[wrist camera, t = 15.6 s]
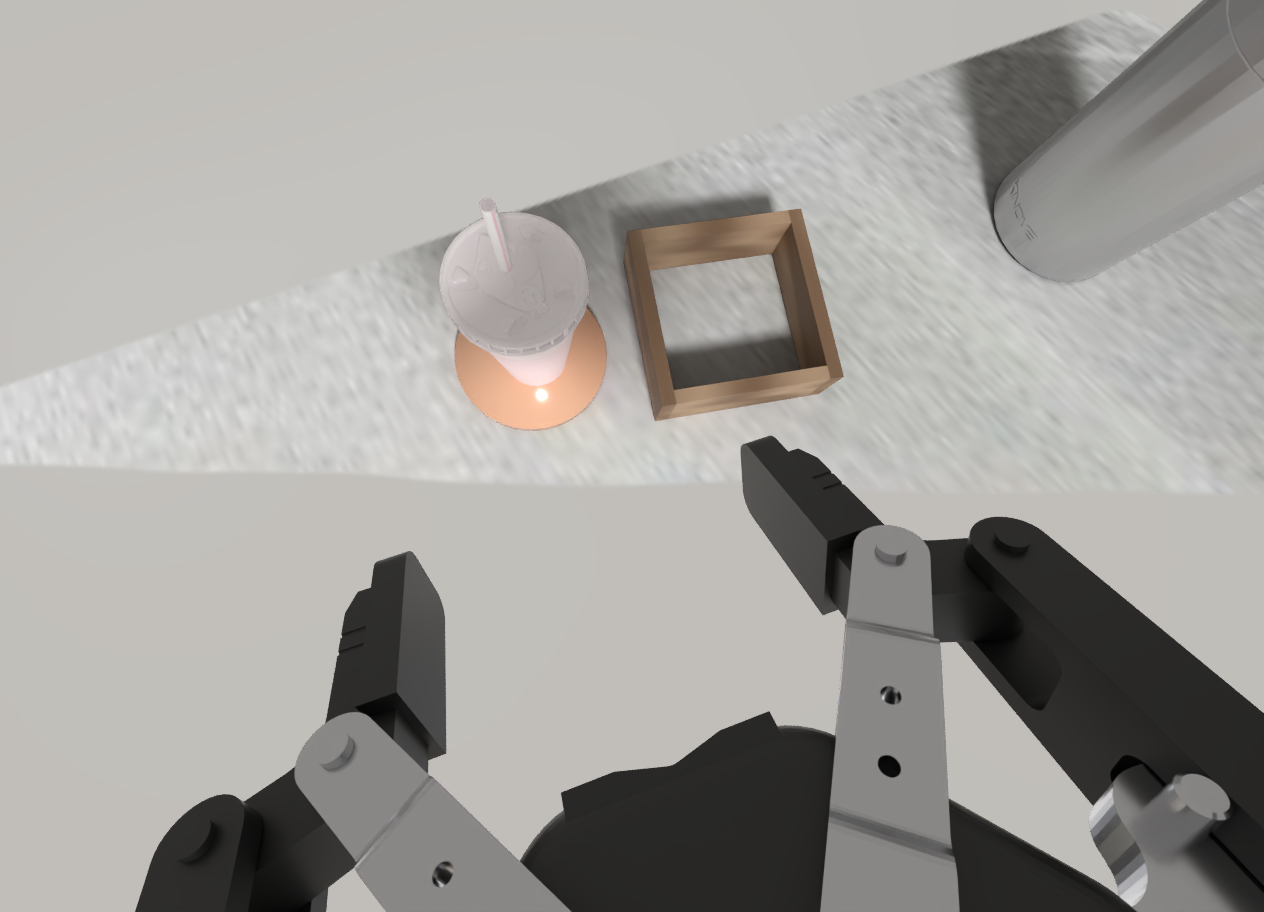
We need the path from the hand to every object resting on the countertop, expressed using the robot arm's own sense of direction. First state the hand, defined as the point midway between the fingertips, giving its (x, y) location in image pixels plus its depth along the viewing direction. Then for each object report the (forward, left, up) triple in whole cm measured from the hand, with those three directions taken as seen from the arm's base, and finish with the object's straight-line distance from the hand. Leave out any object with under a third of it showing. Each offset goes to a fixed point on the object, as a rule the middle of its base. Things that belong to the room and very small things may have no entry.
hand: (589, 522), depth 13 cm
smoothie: (+1, -11, -19) cm, 22 cm away
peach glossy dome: (+2, -11, -19) cm, 23 cm away
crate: (-10, -12, -19) cm, 25 cm away
